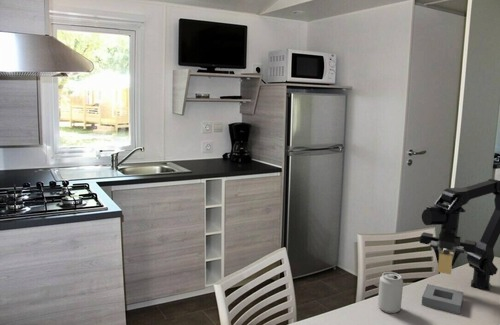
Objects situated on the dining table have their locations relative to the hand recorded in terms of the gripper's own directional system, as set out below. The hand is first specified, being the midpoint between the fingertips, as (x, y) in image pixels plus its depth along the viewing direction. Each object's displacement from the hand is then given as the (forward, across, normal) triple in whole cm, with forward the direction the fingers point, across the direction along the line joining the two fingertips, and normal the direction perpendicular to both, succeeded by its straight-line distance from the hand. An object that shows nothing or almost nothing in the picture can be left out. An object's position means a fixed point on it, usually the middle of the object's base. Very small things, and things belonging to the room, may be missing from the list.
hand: (445, 264), depth 163 cm
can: (+10, -14, -26) cm, 31 cm away
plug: (+3, 0, 0) cm, 3 cm away
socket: (+10, +1, -11) cm, 15 cm away
